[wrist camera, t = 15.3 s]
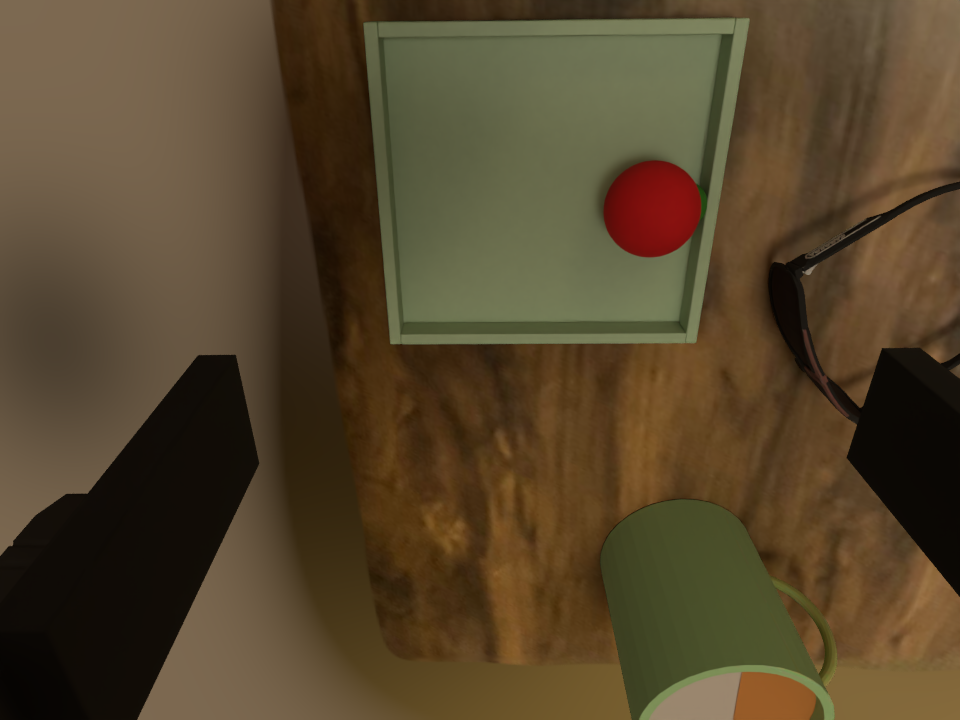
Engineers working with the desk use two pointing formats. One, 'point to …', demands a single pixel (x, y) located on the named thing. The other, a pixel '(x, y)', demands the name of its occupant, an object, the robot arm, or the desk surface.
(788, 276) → the sunglasses
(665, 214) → the red tomato
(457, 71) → the tray
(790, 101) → the desk surface
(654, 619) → the mug
